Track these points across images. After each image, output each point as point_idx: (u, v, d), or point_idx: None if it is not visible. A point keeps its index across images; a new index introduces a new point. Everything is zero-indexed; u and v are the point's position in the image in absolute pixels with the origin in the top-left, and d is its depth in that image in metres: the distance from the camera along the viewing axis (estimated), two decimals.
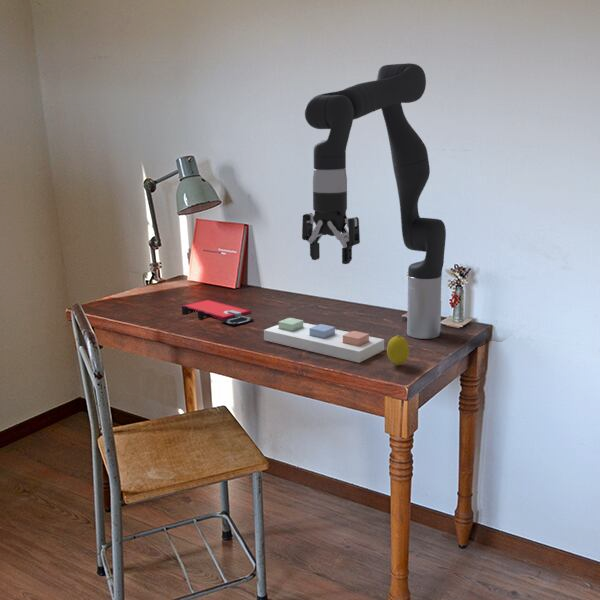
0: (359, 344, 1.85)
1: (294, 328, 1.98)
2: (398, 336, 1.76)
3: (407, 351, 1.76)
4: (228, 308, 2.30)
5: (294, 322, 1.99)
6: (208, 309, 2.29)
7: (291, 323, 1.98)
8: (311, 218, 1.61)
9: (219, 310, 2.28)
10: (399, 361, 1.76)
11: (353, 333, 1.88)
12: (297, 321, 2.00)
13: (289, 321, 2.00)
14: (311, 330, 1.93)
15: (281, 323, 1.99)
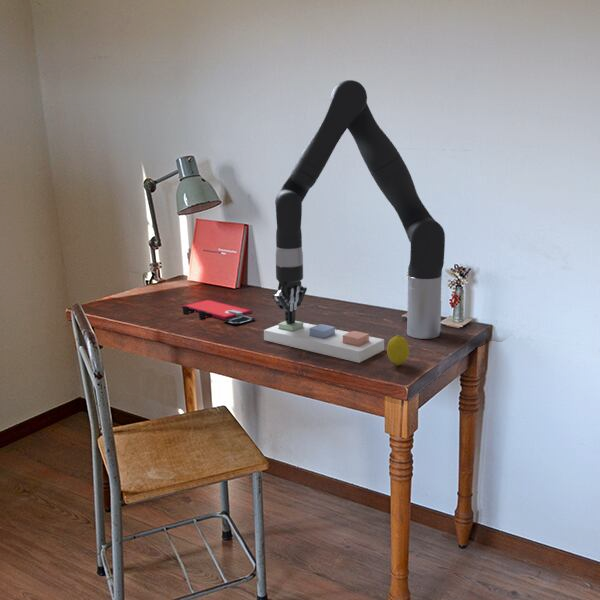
0: (359, 344, 1.85)
1: (295, 330, 1.98)
2: (398, 336, 1.76)
3: (407, 351, 1.76)
4: (229, 308, 2.30)
5: (294, 324, 1.99)
6: (209, 309, 2.29)
7: (291, 325, 1.98)
8: (281, 294, 1.95)
9: (220, 310, 2.28)
10: (399, 361, 1.76)
11: (353, 333, 1.88)
12: (297, 323, 2.00)
13: None
14: (311, 330, 1.93)
15: (281, 325, 2.00)
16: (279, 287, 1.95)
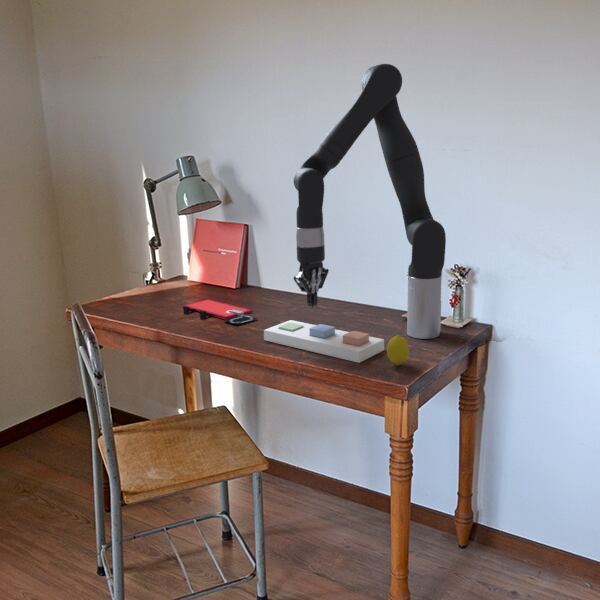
0: (359, 344, 1.85)
1: None
2: (398, 336, 1.76)
3: (407, 351, 1.76)
4: (229, 308, 2.30)
5: (294, 327, 1.99)
6: (209, 309, 2.29)
7: (291, 328, 1.99)
8: (302, 275, 1.89)
9: (221, 310, 2.28)
10: (399, 361, 1.76)
11: (353, 333, 1.88)
12: (297, 326, 2.00)
13: (289, 326, 2.01)
14: (311, 330, 1.93)
15: (281, 328, 2.00)
16: (300, 268, 1.90)
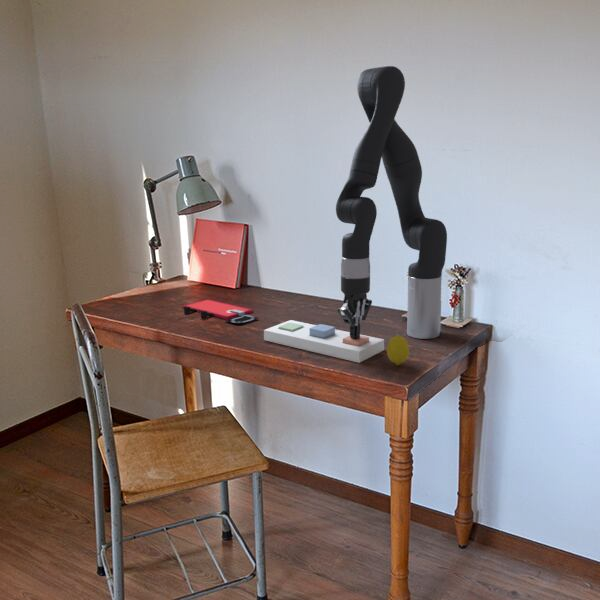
0: None
1: None
2: (398, 336, 1.76)
3: (407, 351, 1.76)
4: (230, 307, 2.31)
5: (294, 327, 1.99)
6: (210, 309, 2.29)
7: (291, 328, 1.99)
8: (347, 307, 1.81)
9: (221, 310, 2.28)
10: (399, 361, 1.76)
11: None
12: (297, 326, 2.00)
13: (289, 326, 2.01)
14: (311, 330, 1.93)
15: (281, 328, 2.00)
16: (345, 300, 1.82)
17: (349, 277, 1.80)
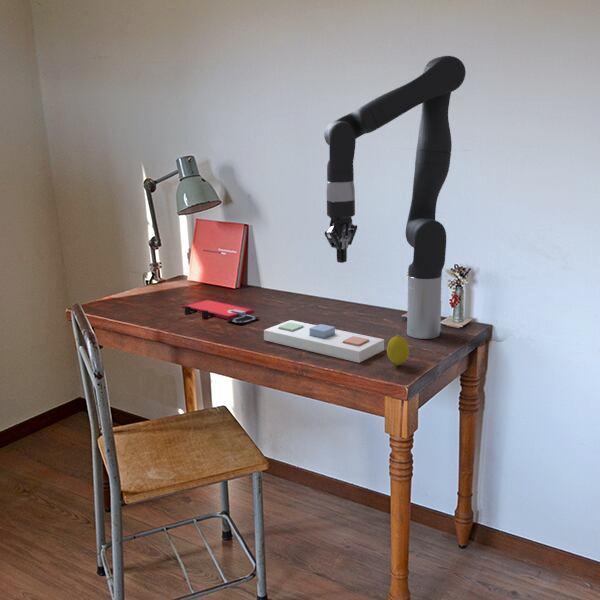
0: None
1: None
2: (398, 336, 1.76)
3: (407, 351, 1.76)
4: (230, 307, 2.31)
5: (294, 327, 1.99)
6: (211, 309, 2.29)
7: (291, 328, 1.99)
8: (333, 230, 1.87)
9: (222, 309, 2.28)
10: (399, 361, 1.76)
11: (353, 338, 1.89)
12: (297, 326, 2.00)
13: (289, 326, 2.01)
14: (311, 330, 1.93)
15: (281, 328, 2.00)
16: (331, 223, 1.88)
17: (335, 200, 1.86)
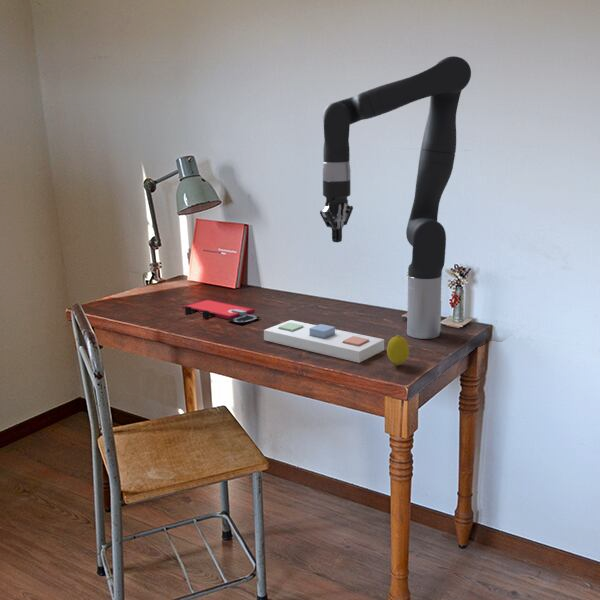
0: None
1: None
2: (398, 336, 1.76)
3: (407, 351, 1.76)
4: (231, 307, 2.31)
5: (294, 327, 1.99)
6: (211, 309, 2.29)
7: (291, 328, 1.99)
8: (328, 209, 1.91)
9: (222, 309, 2.28)
10: (399, 361, 1.76)
11: (353, 338, 1.89)
12: (297, 326, 2.00)
13: (289, 326, 2.01)
14: (311, 330, 1.93)
15: (281, 328, 2.00)
16: (326, 203, 1.91)
17: (330, 180, 1.89)
